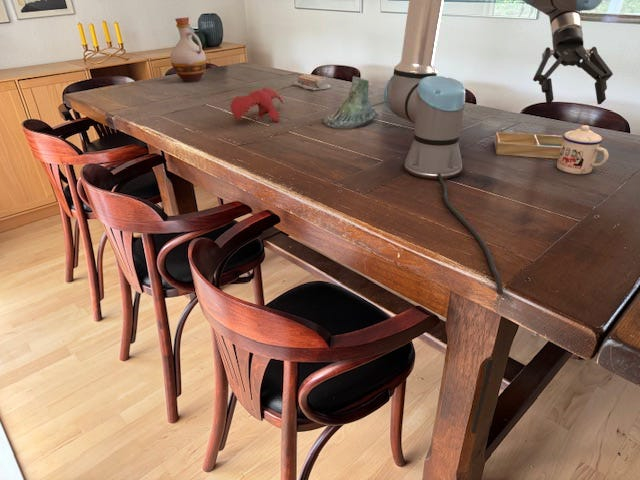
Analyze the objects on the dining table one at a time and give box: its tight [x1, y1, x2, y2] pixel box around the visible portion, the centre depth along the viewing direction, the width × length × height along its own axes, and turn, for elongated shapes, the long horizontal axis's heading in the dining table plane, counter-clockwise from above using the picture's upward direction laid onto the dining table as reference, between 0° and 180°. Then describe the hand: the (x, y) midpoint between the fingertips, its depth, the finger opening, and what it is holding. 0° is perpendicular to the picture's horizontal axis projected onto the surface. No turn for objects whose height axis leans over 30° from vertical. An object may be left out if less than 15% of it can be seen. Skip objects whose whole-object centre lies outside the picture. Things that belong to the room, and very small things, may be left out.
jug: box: [169, 17, 207, 83], centre depth 230 cm, size 20×18×30 cm
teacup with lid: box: [556, 124, 609, 175], centre depth 118 cm, size 12×9×12 cm
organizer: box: [494, 131, 563, 160], centre depth 134 cm, size 11×22×3 cm, turn 75°
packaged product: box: [293, 73, 331, 92], centre depth 218 cm, size 18×5×10 cm
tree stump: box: [322, 76, 379, 130], centre depth 164 cm, size 18×20×18 cm
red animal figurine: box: [229, 87, 284, 123], centre depth 168 cm, size 28×9×15 cm
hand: (575, 102), depth 122 cm, fingers open, 13 cm apart
